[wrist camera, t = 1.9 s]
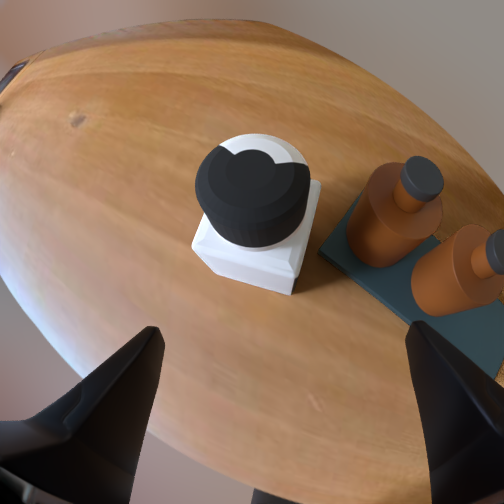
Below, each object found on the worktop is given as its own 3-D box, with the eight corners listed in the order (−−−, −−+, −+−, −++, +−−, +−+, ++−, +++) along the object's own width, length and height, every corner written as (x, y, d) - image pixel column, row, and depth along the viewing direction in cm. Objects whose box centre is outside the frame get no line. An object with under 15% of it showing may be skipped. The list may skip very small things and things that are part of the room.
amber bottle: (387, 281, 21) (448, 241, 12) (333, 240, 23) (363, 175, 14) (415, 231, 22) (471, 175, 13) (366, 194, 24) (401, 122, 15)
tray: (483, 390, 17) (488, 390, 16) (317, 253, 24) (318, 249, 23) (512, 322, 19) (517, 321, 18) (364, 189, 25) (366, 184, 24)
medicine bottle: (292, 297, 23) (304, 254, 11) (213, 274, 24) (158, 216, 13) (312, 222, 25) (332, 132, 13) (239, 203, 26) (211, 112, 15)
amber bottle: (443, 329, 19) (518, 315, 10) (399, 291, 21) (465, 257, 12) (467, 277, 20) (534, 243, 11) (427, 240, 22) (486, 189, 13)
